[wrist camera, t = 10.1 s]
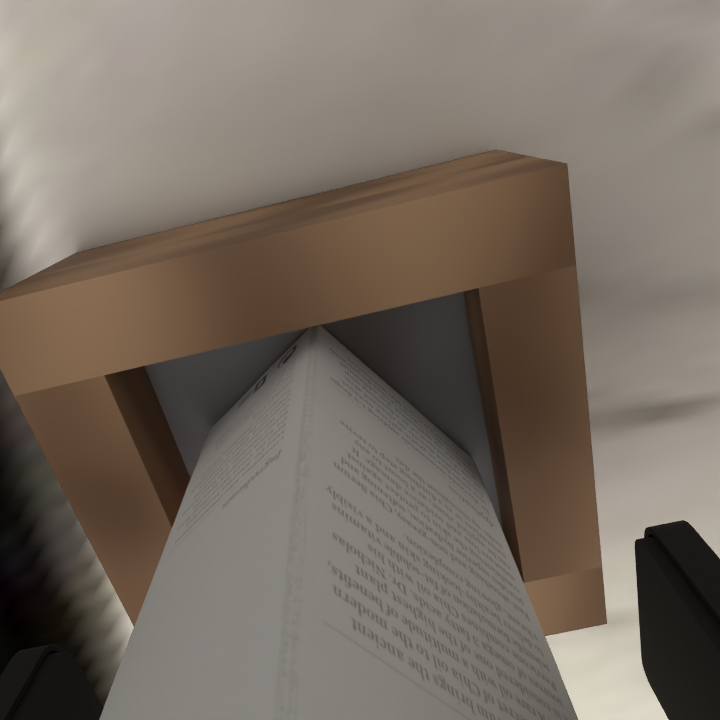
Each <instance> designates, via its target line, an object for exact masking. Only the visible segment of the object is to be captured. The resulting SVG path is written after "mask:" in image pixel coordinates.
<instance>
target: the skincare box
mask: <svg viewBox="0 0 720 720" xmlns="http://www.w3.org/2000/svg"><path fill="white" fill-rule="evenodd" d="M99 720H578V718H577V715H576V713H575V710H574V708H573V705H572V703H571V700H570V698H569V695H568V693H567V690H566V688H565V685H564V683H563V680H562V678H561V675H560V673H559V670H558V667H557V664H556V662H555V660H554V657H553V655H552V652H551V650H550V648H549V645H548V643H547V641H546V638H545V636H544V633H543V631H542V628H541V626H540V623H539V621H538V618H537V616H536V613H535V611H534V608H533V606H532V603H531V601H530V598H529V596H528V593H527V591H526V588H525V586H524V583H523V581H522V578H521V576H520V573H519V571H518V568H517V566H516V563H515V561H514V558H513V556H512V554H511V551H510V549H509V546H508V544H507V541H506V539H505V536H504V534H503V531H502V528H501V526H500V523H499V521H498V518H497V516H496V514H495V511H494V508H493V506H492V503H491V501H490V498H489V496H488V493H487V491H486V488H485V486H484V483H483V481H482V478H481V476H480V473H479V471H478V468H477V466H476V464H475V461H474V460H473V458H471V457H470V456H469V455H468V454H467V453H466V452H464V451H463V450H462V449H461V448H460V447H459V446H457V445H456V444H455V443H454V442H453V441H452V440H451V439H450V438H448V437H447V436H446V435H445V434H444V433H443V432H442V431H441V430H439V429H438V428H437V427H436V426H435V425H434V424H433V423H432V422H430V421H429V420H428V419H427V418H426V417H425V416H424V415H422V414H421V413H420V412H419V411H418V410H417V409H415V408H414V407H413V406H412V405H411V404H410V403H409V402H408V401H407V400H405V399H404V398H403V397H402V396H401V395H400V394H398V393H397V392H396V391H395V390H394V389H393V388H391V387H390V386H389V385H388V384H387V383H386V382H385V381H384V380H382V379H381V378H380V377H379V376H378V375H377V374H376V373H375V372H373V371H372V370H371V369H370V368H369V367H368V366H366V365H365V364H364V363H363V362H362V361H361V360H359V359H358V358H357V357H356V356H355V355H354V354H353V353H352V352H350V351H349V350H348V349H347V348H346V347H345V346H344V345H342V344H341V343H340V342H339V341H338V340H337V339H336V338H335V337H333V336H332V335H331V334H330V333H329V332H328V331H327V330H326V329H325V328H324V327H322V326H321V325H318V326H313V327H310V328H309V329H308V330H307V331H306V332H305V333H304V334H303V335H302V336H301V337H300V338H299V339H298V340H297V341H296V342H295V343H294V344H293V345H292V346H291V347H290V348H289V349H288V350H287V351H286V352H285V353H284V354H283V355H282V356H281V357H280V358H279V359H278V360H277V361H276V362H275V363H274V364H273V365H272V366H271V367H270V368H269V369H268V370H267V371H266V372H265V373H264V374H263V375H262V376H261V377H260V379H259V380H258V381H257V382H256V383H255V384H254V385H253V386H252V387H251V388H250V389H249V390H248V391H247V392H246V393H245V394H244V395H243V396H242V397H241V398H240V399H239V400H238V401H237V402H236V403H235V404H234V405H233V406H232V408H231V409H230V410H229V411H228V412H227V413H226V414H225V415H223V416H222V417H221V418H220V419H219V420H218V421H217V422H216V423H215V424H214V425H213V426H212V428H211V429H210V430H209V432H208V435H207V437H206V440H205V443H204V446H203V448H202V451H201V454H200V456H199V459H198V462H197V464H196V467H195V469H194V472H193V474H192V477H191V479H190V482H189V484H188V487H187V489H186V492H185V495H184V497H183V500H182V503H181V506H180V508H179V511H178V514H177V516H176V519H175V521H174V524H173V527H172V529H171V532H170V534H169V537H168V540H167V542H166V545H165V548H164V550H163V553H162V556H161V558H160V561H159V564H158V566H157V569H156V571H155V574H154V577H153V579H152V582H151V585H150V587H149V590H148V592H147V595H146V598H145V600H144V603H143V605H142V608H141V611H140V613H139V616H138V618H137V621H136V624H135V626H134V629H133V631H132V634H131V636H130V639H129V642H128V645H127V648H126V651H125V653H124V656H123V659H122V661H121V664H120V666H119V668H118V671H117V674H116V677H115V679H114V682H113V685H112V687H111V690H110V693H109V695H108V698H107V700H106V703H105V706H104V709H103V711H102V714H101V716H100V719H99Z"/></svg>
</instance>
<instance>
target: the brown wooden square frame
mask: <svg viewBox="0 0 720 720" xmlns="http://www.w3.org/2000/svg"><path fill="white" fill-rule="evenodd" d="M318 325H321V326H322V327H324V328H325V329H326V330H327V331H328V332H329V333H330V334H331V335H332V336H333V337H335V338H336V339H337V340H338V341H339V342H340V343H341V344H342V345H344V346H345V347H346V348H347V349H348V350H349V351H350V352H352V353H353V354H354V355H355V356H356V357H357V358H358V359H359V360H361V361H362V362H363V363H364V364H365V365H366V366H368V367H369V368H370V369H371V370H372V371H373V372H375V373H376V374H377V375H378V376H379V377H380V378H381V379H382V380H384V381H385V382H386V383H387V384H388V385H389V386H390V387H391V388H393V389H394V390H395V391H396V392H397V393H398V394H400V395H401V396H402V397H403V398H404V399H405V400H407V401H408V402H409V403H410V404H411V405H412V406H413V407H414V408H415V409H417V410H418V411H419V412H420V413H421V414H422V415H424V416H425V417H426V418H427V419H428V420H429V421H430V422H432V423H433V424H434V425H435V426H436V427H437V428H438V429H439V430H441V431H442V432H443V433H444V434H445V435H446V436H447V437H448V438H450V439H451V440H452V441H453V442H454V443H455V444H456V445H457V446H459V447H460V448H461V449H462V450H463V451H464V452H466V453H467V454H468V455H469V456H470V457H471V458H473V460H474V461H475V464H476V466H477V468H478V471H479V473H480V476H481V478H482V481H483V483H484V486H485V488H486V491H487V493H488V496H489V498H490V501H491V503H492V506H493V508H494V511H495V514H496V516H497V518H498V521H499V523H500V526H501V528H502V531H503V534H504V536H505V539H506V541H507V544H508V546H509V549H510V551H511V554H512V556H513V558H514V561H515V563H516V566H517V568H518V571H519V573H520V576H521V578H522V581H523V583H524V586H525V588H526V591H527V593H528V596H529V598H530V601H531V603H532V606H533V608H534V611H535V613H536V616H537V618H538V621H539V623H540V626H541V628H542V631H543V633H544V636H548V635H553V634H558V633H563V632H568V631H573V630H578V629H583V628H588V627H593V626H598V625H603V624H607V618H606V607H605V595H604V584H603V572H602V561H601V549H600V537H599V526H598V514H597V503H596V491H595V480H594V468H593V457H592V445H591V433H590V422H589V410H588V399H587V387H586V376H585V364H584V352H583V341H582V329H581V318H580V306H579V295H578V283H577V272H576V260H575V248H574V237H573V225H572V214H571V202H570V191H569V179H568V168H567V163H562V162H557V161H552V160H546V159H541V158H536V157H531V156H525V155H520V154H515V153H510V152H505V151H499V150H494V151H490V152H486V153H482V154H478V155H473V156H469V157H465V158H461V159H457V160H453V161H449V162H445V163H441V164H437V165H433V166H429V167H424V168H420V169H416V170H412V171H408V172H404V173H400V174H396V175H392V176H388V177H384V178H380V179H375V180H371V181H367V182H363V183H359V184H355V185H351V186H347V187H343V188H339V189H335V190H331V191H326V192H322V193H318V194H314V195H310V196H306V197H302V198H298V199H294V200H290V201H286V202H282V203H277V204H273V205H269V206H265V207H261V208H257V209H253V210H249V211H245V212H241V213H237V214H233V215H229V216H224V217H220V218H216V219H212V220H208V221H204V222H200V223H196V224H192V225H188V226H184V227H180V228H175V229H171V230H167V231H163V232H159V233H155V234H151V235H147V236H143V237H139V238H135V239H131V240H126V241H122V242H118V243H114V244H110V245H106V246H102V247H98V248H94V249H90V250H86V251H82V252H77V253H75V254H73V255H71V256H69V257H67V258H65V259H63V260H61V261H60V262H58V263H56V264H54V265H52V266H50V267H48V268H46V269H44V270H42V271H40V272H38V273H36V274H34V275H32V276H31V277H29V278H27V279H25V280H23V281H21V282H19V283H17V284H15V285H13V286H11V287H9V288H7V289H5V290H3V291H2V292H0V369H1V371H2V373H3V375H4V377H5V379H6V381H7V383H8V385H9V387H10V389H11V391H12V393H13V394H14V396H15V398H16V400H17V402H18V404H19V406H20V408H21V410H22V412H23V414H24V416H25V418H26V420H27V421H28V423H29V425H30V427H31V429H32V431H33V433H34V435H35V437H36V439H37V441H38V443H39V445H40V446H41V448H42V450H43V452H44V454H45V456H46V458H47V460H48V462H49V464H50V466H51V468H52V470H53V472H54V473H55V475H56V477H57V479H58V481H59V483H60V485H61V487H62V489H63V491H64V493H65V495H66V497H67V498H68V500H69V502H70V504H71V506H72V508H73V510H74V512H75V514H76V516H77V518H78V520H79V522H80V524H81V525H82V527H83V529H84V531H85V533H86V535H87V537H88V539H89V541H90V543H91V545H92V547H93V549H94V550H95V552H96V554H97V556H98V558H99V560H100V562H101V564H102V566H103V568H104V570H105V572H106V574H107V576H108V577H109V579H110V581H111V583H112V585H113V587H114V589H115V591H116V593H117V595H118V597H119V599H120V601H121V602H122V604H123V606H124V608H125V610H126V612H127V614H128V616H129V618H130V620H131V622H132V624H133V626H135V624H136V621H137V618H138V616H139V613H140V611H141V608H142V605H143V603H144V600H145V598H146V595H147V592H148V590H149V587H150V585H151V582H152V579H153V577H154V574H155V571H156V569H157V566H158V564H159V561H160V558H161V556H162V553H163V550H164V548H165V545H166V542H167V540H168V537H169V534H170V532H171V529H172V527H173V524H174V521H175V519H176V516H177V514H178V511H179V508H180V506H181V503H182V500H183V497H184V495H185V492H186V489H187V487H188V484H189V482H190V479H191V477H192V474H193V472H194V469H195V467H196V464H197V462H198V459H199V456H200V454H201V451H202V448H203V446H204V443H205V440H206V437H207V435H208V432H209V430H210V429H211V428H212V426H213V425H214V424H215V423H216V422H217V421H218V420H219V419H220V418H221V417H222V416H223V415H225V414H226V413H227V412H228V411H229V410H230V409H231V408H232V406H233V405H234V404H235V403H236V402H237V401H238V400H239V399H240V398H241V397H242V396H243V395H244V394H245V393H246V392H247V391H248V390H249V389H250V388H251V387H252V386H253V385H254V384H255V383H256V382H257V381H258V380H259V379H260V377H261V376H262V375H263V374H264V373H265V372H266V371H267V370H268V369H269V368H270V367H271V366H272V365H273V364H274V363H275V362H276V361H277V360H278V359H279V358H280V357H281V356H282V355H283V354H284V353H285V352H286V351H287V350H288V349H289V348H290V347H291V346H292V345H293V344H294V343H295V342H296V341H297V340H298V339H299V338H300V337H301V336H302V335H303V334H304V333H305V332H306V331H307V330H308V329H309V328H310V327H313V326H318Z"/></svg>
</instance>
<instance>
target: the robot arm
mask: <svg viewBox="0 0 720 720" xmlns="http://www.w3.org/2000/svg"><path fill="white" fill-rule="evenodd" d="M635 558H636V574H637V591H638V607H639V624H640V640H641V657H642V664H643V668H644V671H645V674H646V677H647V679H648V681H649V683H650V686H651V687H652V689H653V691H654V693H655V695H656V697H657V699H658V700H659V702H660V704H661V706H662V708H663V710H664V712H665V713H666V715H667V717H668V719H669V720H720V559H719V557H718V556H717V555H716V554H715V553H714V552H713V550H712V549H711V548H710V547H709V546H708V545H707V543H706V542H705V541H704V540H703V539H702V538H701V536H700V535H699V534H698V533H697V532H696V530H695V529H694V528H693V527H692V526H691V525H690V524H689V523H688V522H686V521H684V520H683V521H677V522H672V523H667V524H662V525H657V526H652V527H648V528H646V529H645V533H644V538H642V539H637V540H636V541H635ZM103 709H104V708H103V706H102V704H101V702H100V701H99V699H98V697H97V696H96V694H95V692H94V690H93V689H92V687H91V685H90V683H89V682H88V680H87V678H86V677H85V675H84V673H83V671H82V670H81V668H80V666H79V665H78V663H77V661H76V659H75V658H74V656H73V655H72V653H71V652H69V651H65V650H64V649H63V648H62V647H61V646H60V645H58V644H50V645H45V646H40V647H35V648H30V649H25V650H21V651H19V652H18V653H16V654H15V655H14V656H13V658H12V659H11V660H10V662H9V664H8V665H7V667H6V668H5V670H4V672H3V673H2V675H1V676H0V720H99V719H100V716H101V714H102V711H103Z"/></svg>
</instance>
